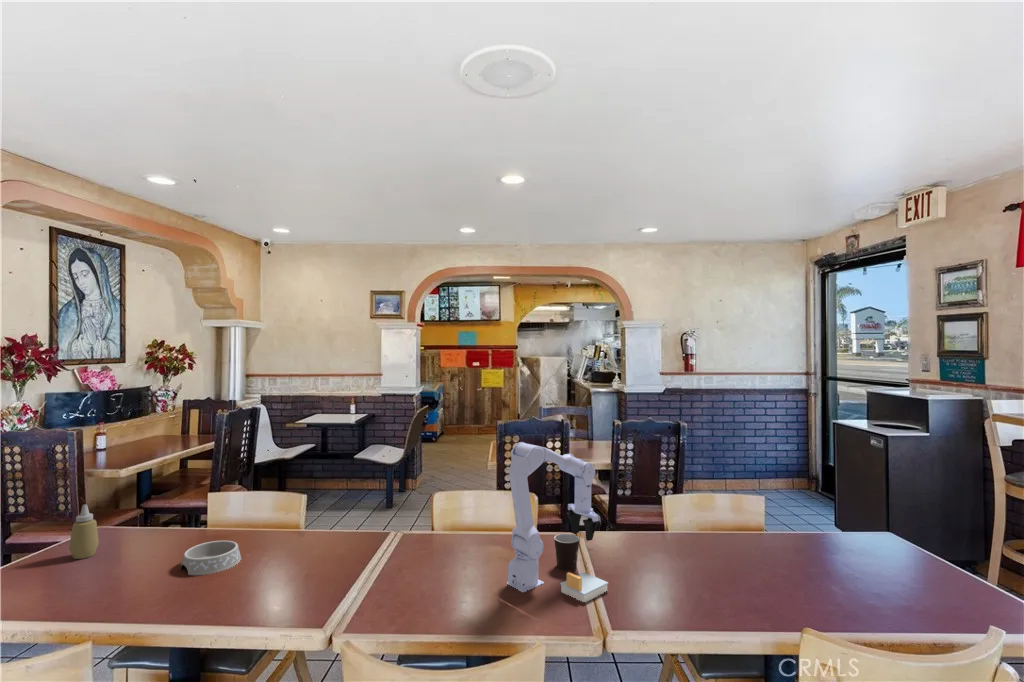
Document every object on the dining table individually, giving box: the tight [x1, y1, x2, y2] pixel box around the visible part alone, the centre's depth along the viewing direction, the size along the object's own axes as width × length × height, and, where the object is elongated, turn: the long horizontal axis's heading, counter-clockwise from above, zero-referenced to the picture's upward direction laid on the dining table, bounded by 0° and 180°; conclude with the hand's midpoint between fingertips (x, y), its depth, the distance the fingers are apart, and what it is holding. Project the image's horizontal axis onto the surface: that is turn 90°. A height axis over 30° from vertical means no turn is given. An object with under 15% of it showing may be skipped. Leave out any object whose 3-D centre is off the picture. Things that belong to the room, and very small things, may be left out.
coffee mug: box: [553, 533, 581, 572], centre depth 178 cm, size 12×9×10 cm
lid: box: [560, 571, 609, 596], centre depth 159 cm, size 11×9×5 cm
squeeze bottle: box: [68, 504, 100, 560], centre depth 183 cm, size 8×8×18 cm
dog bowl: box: [180, 540, 242, 576], centre depth 178 cm, size 17×18×5 cm
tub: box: [560, 584, 608, 603], centre depth 159 cm, size 11×9×3 cm
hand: (582, 536), depth 179 cm, fingers open, 7 cm apart
